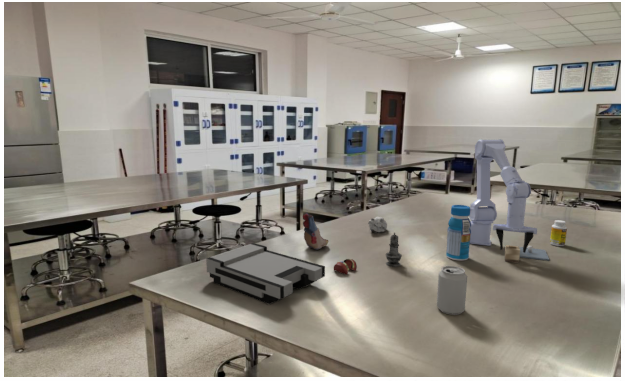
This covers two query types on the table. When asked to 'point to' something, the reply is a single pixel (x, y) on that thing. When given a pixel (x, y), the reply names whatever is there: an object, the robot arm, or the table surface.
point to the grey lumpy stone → (377, 224)
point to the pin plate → (534, 253)
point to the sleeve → (512, 253)
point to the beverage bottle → (459, 233)
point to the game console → (262, 272)
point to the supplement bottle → (558, 233)
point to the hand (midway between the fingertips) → (512, 250)
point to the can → (452, 290)
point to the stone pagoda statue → (393, 252)
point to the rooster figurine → (312, 233)
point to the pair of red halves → (345, 266)
